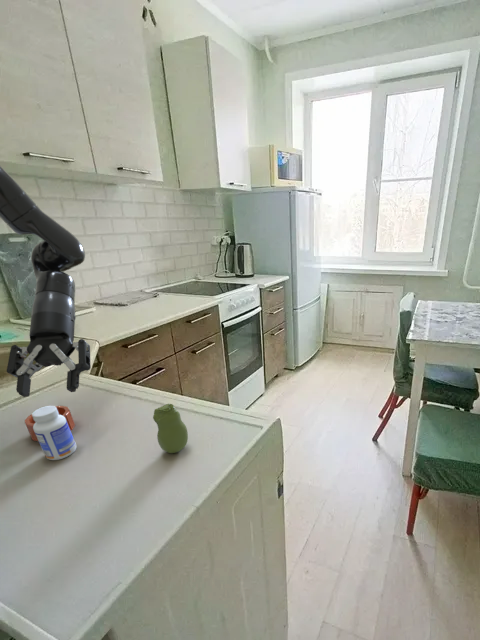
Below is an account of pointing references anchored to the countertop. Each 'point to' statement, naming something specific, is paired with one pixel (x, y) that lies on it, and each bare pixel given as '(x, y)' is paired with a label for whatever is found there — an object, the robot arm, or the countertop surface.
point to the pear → (170, 429)
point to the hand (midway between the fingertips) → (47, 393)
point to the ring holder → (62, 411)
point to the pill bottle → (53, 433)
